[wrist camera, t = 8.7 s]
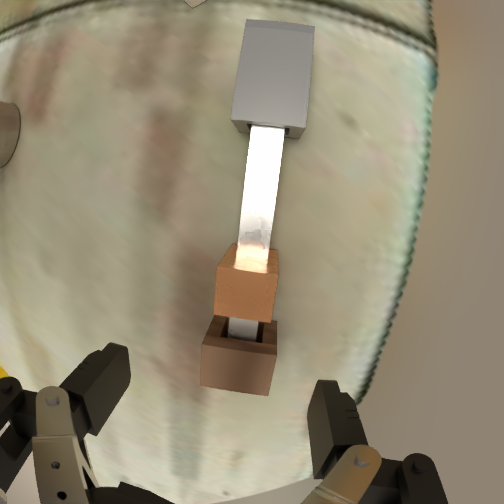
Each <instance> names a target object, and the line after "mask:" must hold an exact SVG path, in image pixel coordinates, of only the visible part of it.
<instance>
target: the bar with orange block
mask: <svg viewBox="0 0 504 504" xmlns="http://www.w3.org/2000/svg"><path fill="white" fill-rule="evenodd" d="M284 129H285V128H283V127H275V126H267V125H258V124H252V129H251V137H250V145H249V153H248V161H247V169H246V177H245V185H244V194H243V202H242V210H241V219H240V228H239V236H238V245H237V244H232V245H231V247H230V248H229V250H228V251H227V253H226V254H225V256H224V257H223V259H222V260H221V262H220V263H219V265H218V266H217V274H216V286H215V298H214V310H213V314H214V315H220V316H227V317H230V320H229V329H228V338H230V339H236V340H243V341H250V342H255V341H256V335H257V328H258V321H261V322H268V323H271V318H272V312H273V306H274V300H275V294H276V288H277V281H278V250H274V249H269V245H270V238H271V231H272V223H273V216H274V208H275V201H276V193H277V185H278V178H279V170H280V162H281V154H282V146H283V138H284Z"/></svg>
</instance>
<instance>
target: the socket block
mask: <svg viewBox="0 0 504 504" xmlns="http://www.w3.org/2000/svg"><path fill="white" fill-rule="evenodd" d="M229 320H230V317H227V316H220V315H214V317H213V320H212V322H211V324H210V326H209V329H208V331H207V333H206V335H205V338H204V340H203V342H202V345H201V369H200V385H201V386H206V387H211V388H217V389H222V390H228V391H235V392H241V393H248V394H256V395H264V396H268V395H269V390H270V386H271V381H272V376H273V371H274V367H275V362H276V357H277V321H271V323H268V322H261V321H258V328H257V335H256V341H255V342H250V341H243V340H236V339H230V338H228V329H229Z"/></svg>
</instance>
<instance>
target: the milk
mask: <svg viewBox="0 0 504 504" xmlns="http://www.w3.org/2000/svg"><path fill="white" fill-rule="evenodd" d="M184 1H185V2H186V3H187V4H188V5H190V6H191V7H192V8H194V7H196V6H197V5H199V4H201V3H203V2H204V1H206V0H184Z"/></svg>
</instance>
